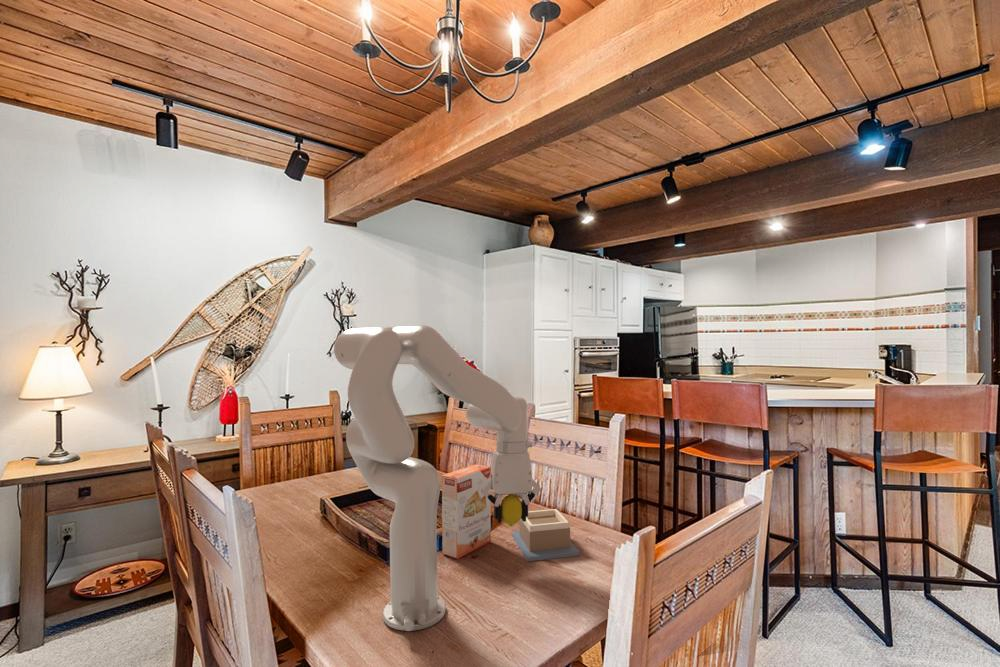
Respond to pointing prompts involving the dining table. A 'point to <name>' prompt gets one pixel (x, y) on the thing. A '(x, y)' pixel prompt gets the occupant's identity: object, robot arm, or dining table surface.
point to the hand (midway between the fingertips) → (511, 519)
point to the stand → (545, 536)
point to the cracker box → (465, 511)
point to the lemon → (511, 509)
